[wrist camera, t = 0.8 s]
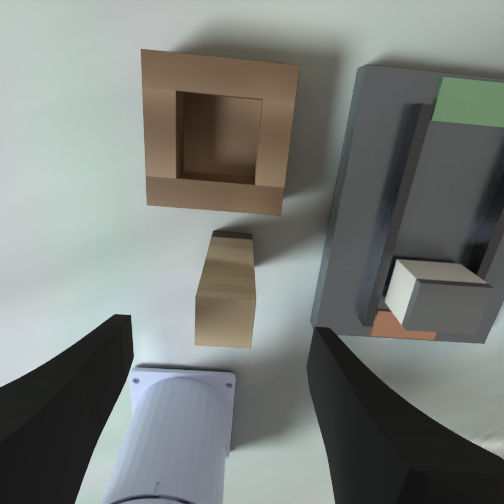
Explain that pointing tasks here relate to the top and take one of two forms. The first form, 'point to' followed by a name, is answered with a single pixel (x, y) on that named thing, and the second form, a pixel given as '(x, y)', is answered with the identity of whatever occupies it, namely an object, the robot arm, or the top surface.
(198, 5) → the top surface
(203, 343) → the wooden block
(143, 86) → the wooden square socket
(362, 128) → the panel
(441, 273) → the handle
